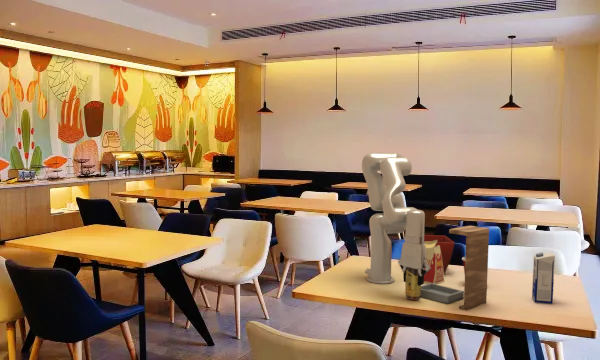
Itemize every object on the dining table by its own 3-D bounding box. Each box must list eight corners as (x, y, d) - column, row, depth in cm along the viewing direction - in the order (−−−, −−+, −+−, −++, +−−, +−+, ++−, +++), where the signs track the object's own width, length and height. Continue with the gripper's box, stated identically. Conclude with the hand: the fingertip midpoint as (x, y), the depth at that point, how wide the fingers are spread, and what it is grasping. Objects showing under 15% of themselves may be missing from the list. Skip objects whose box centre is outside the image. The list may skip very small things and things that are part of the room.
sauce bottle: (403, 296, 218) (404, 249, 216) (417, 296, 218) (418, 249, 217) (407, 301, 211) (408, 252, 210) (422, 300, 212) (424, 252, 210)
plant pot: (453, 276, 253) (455, 242, 252) (414, 275, 253) (415, 241, 252) (444, 267, 272) (445, 235, 271) (407, 266, 272) (408, 234, 271)
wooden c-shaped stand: (446, 305, 206) (449, 229, 204) (467, 298, 216) (469, 225, 214) (466, 310, 200) (469, 232, 198) (486, 302, 210) (489, 228, 208)
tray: (414, 294, 220) (414, 287, 219) (430, 289, 228) (431, 283, 227) (447, 303, 208) (447, 296, 207) (463, 298, 216) (463, 291, 215)
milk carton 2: (552, 304, 210) (555, 255, 208) (534, 302, 211) (536, 254, 210) (549, 299, 216) (551, 251, 215) (531, 297, 218) (533, 250, 217)
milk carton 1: (444, 281, 242) (445, 239, 241) (434, 285, 236) (436, 241, 234) (426, 278, 249) (428, 236, 247) (416, 281, 242) (418, 239, 241)
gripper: (392, 238, 217) (390, 280, 218) (427, 244, 204) (425, 289, 205) (403, 236, 222) (401, 277, 223) (438, 242, 209) (436, 286, 210)
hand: (413, 282), depth 214 cm, fingers closed on sauce bottle, 6 cm apart
